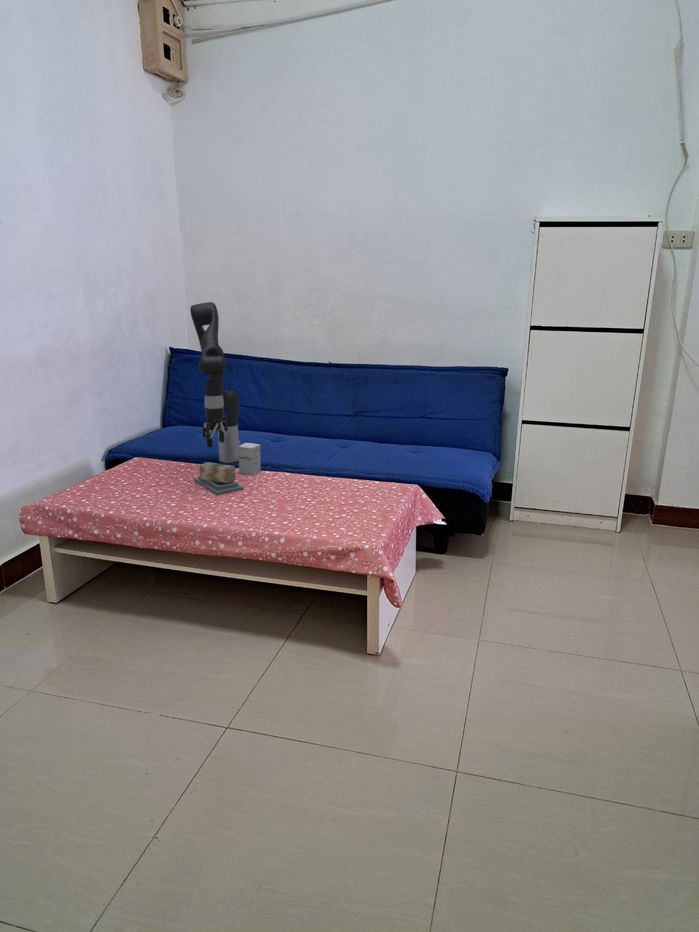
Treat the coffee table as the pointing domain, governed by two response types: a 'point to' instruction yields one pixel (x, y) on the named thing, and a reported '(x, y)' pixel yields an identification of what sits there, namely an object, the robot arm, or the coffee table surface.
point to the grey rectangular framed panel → (218, 486)
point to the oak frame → (217, 472)
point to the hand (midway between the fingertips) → (215, 444)
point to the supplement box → (249, 458)
